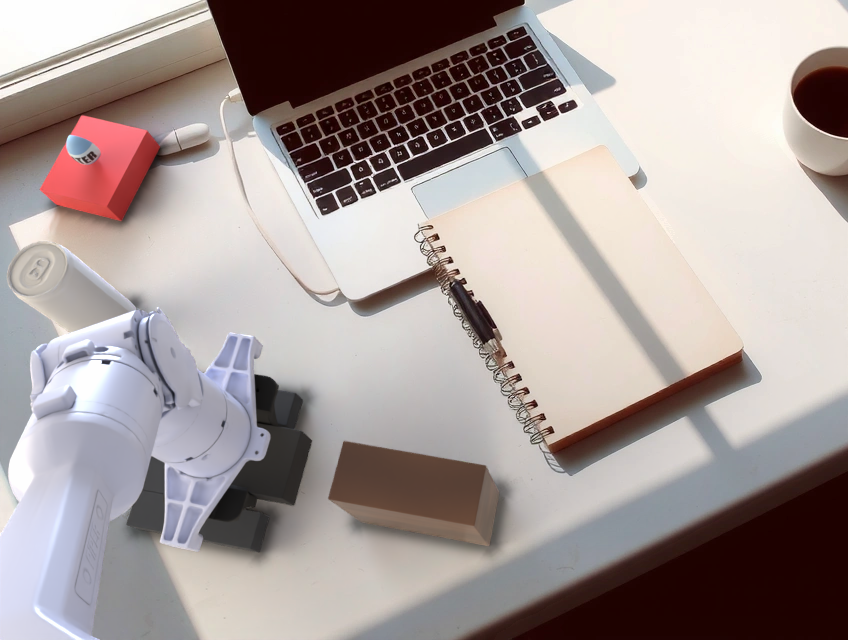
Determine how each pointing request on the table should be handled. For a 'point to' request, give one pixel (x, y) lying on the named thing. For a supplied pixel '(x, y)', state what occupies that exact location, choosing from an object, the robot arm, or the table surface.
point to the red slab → (100, 167)
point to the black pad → (277, 466)
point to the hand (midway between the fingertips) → (254, 464)
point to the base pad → (231, 534)
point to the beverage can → (63, 287)
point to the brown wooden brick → (415, 492)
